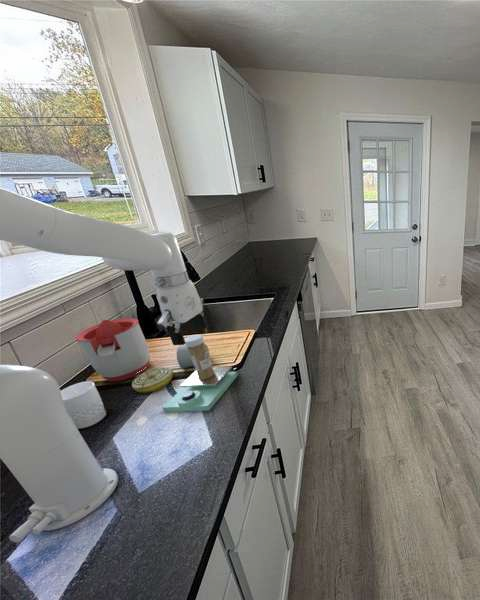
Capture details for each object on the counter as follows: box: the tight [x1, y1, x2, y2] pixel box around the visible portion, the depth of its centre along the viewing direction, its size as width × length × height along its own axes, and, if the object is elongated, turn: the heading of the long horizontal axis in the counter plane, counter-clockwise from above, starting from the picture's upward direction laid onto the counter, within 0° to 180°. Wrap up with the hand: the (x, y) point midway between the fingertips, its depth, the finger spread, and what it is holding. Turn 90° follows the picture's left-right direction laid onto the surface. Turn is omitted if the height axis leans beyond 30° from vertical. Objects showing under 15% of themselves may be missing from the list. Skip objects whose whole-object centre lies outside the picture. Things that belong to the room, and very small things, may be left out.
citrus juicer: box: [75, 317, 151, 382], centre depth 103 cm, size 16×17×20 cm
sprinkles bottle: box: [184, 334, 215, 380], centre depth 94 cm, size 5×5×13 cm
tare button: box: [183, 391, 195, 401], centre depth 88 cm, size 3×3×1 cm
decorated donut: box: [131, 367, 174, 394], centre depth 99 cm, size 10×11×4 cm
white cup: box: [60, 380, 107, 430], centre depth 84 cm, size 8×8×10 cm
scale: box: [162, 371, 238, 413], centre depth 94 cm, size 16×13×3 cm
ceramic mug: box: [176, 343, 210, 369], centre depth 110 cm, size 11×8×8 cm
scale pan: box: [180, 366, 233, 388], centre depth 97 cm, size 9×11×1 cm
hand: (191, 336), depth 90 cm, fingers open, 9 cm apart
